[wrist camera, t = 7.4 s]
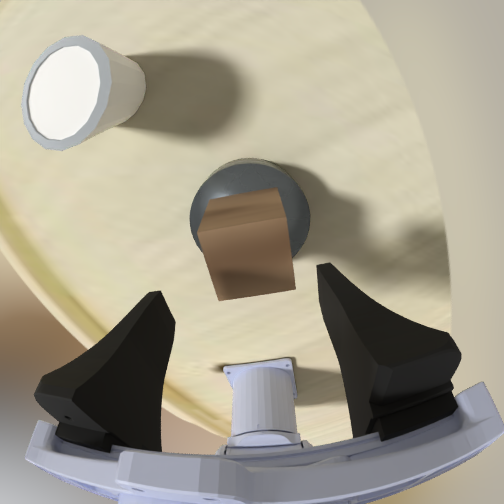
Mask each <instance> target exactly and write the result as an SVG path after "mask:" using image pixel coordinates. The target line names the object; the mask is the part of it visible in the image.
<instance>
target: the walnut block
mask: <svg viewBox="0 0 504 504" xmlns="http://www.w3.org/2000/svg"><path fill="white" fill-rule="evenodd" d="M197 235H198V238H199V241H200V244H201V248H202V251H203V254H204V257H205V261H206V264H207V267H208V270H209V273H210V276H211V279H212V282H213V285H214V288H215V291H216V294H217V297H218V300H219V301H223V300H230V299H237V298H244V297H251V296H258V295H264V294H271V293H277V292H283V291H289V290H295V289H296V286H295V278H294V270H293V262H292V255H291V247H290V240H289V233H288V226H287V219H286V214H285V211H284V208H283V205H282V201H281V198H280V195H279V192H278V188H277V187H275V188H269V189H263V190H257V191H251V192H246V193H240V194H235V195H230V196H225V197H220V198H215V199H210V200H209V202H208V205H207V207H206V210H205V213H204V215H203V218H202V220H201V223H200V226H199V228H198V231H197Z"/></svg>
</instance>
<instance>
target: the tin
mask: <svg viewBox="0 0 504 504" xmlns="http://www.w3.org/2000/svg"><path fill="white" fill-rule="evenodd" d="M275 187H277V188H278V192H279V195H280V198H281V201H282V205H283V208H284V211H285V214H286V219H287V226H288V233H289V240H290V247H291V255H292V258H293V257H294V256H295V255H296V254H297V252H298V251H299V250H300V249H301V247H302V245H303V244H304V242H305V240H306V237H307V235H308V231H309V226H310V211H309V206H308V203H307V200H306V198H305V196H304V193H303V192H302V190H301V189H300V187H299V186H298V184H297V183H296V182H295V181H294V180H293V179H292V178H291V177H290V175H289V174H288V173H287V172H286V171H284V170H283V169H282V168H281V167H279V166H277V165H276V164H274V163H271V162H269V161H266V160H262V159H257V158H244V159H238V160H234V161H231V162H228V163H226V164H224V165H222V166H221V167H219V168H218V169H217V170H215V171H214V172H213V173H212V174H211V175H210V176H209V178H208V179H207V180H206V181H205V182H204V183H203V185H202V186H201V187H200V188H199V190H198V192H197V194H196V195H195V197H194V200H193V203H192V206H191V210H190V227H191V232H192V235H193V238H194V240H195V242H196V244H197V246H198V247H199V249H200V250H201V252H202V253H203V251H202V248H201V244H200V241H199V238H198V235H197V231H198V228H199V226H200V223H201V220H202V218H203V215H204V213H205V210H206V207H207V205H208V202H209V200H210V199H215V198H220V197H225V196H230V195H235V194H240V193H246V192H251V191H257V190H263V189H269V188H275Z"/></svg>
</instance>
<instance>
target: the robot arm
mask: <svg viewBox="0 0 504 504" xmlns="http://www.w3.org/2000/svg"><path fill="white" fill-rule="evenodd" d="M316 267H317V279H318V293H319V303H320V307H321V311H322V315H323V319H324V322H325V325H326V328H327V330H328V333H329V336H330V339H331V341H332V344H333V347H334V350H335V352H336V355H337V358H338V361H339V365H340V369H341V373H342V378H343V382H344V387H345V392H346V397H347V402H348V408H349V414H350V420H351V426H352V434H353V439H349V440H344V441H340V442H335V443H330V444H325V445H320V446H314V447H313V446H312V444H310V443H309V442H308V441H307V440H303V441H301V439H300V433H297V424H296V415H295V407H294V399H296V398H297V390H296V384H295V378H294V372H293V367H292V361H291V359H290V358H285V359H278V360H271V361H264V362H257V363H249V364H240V365H231V366H225V367H224V369H223V370H224V373H225V375H226V377H227V379H228V381H229V383H230V385H231V387H232V389H233V402H232V429H231V437H228V442H227V444H228V445H221V447H220V448H219V449H218V450H217V451H216V453H215V455H199V454H179V453H166V452H162V447H161V404H162V392H163V384H164V379H165V374H166V370H167V366H168V362H169V358H170V354H171V350H172V345H173V341H174V334H175V323H176V322H175V320H174V318H173V316H172V314H171V312H170V309H169V307H168V305H167V303H166V301H165V299H164V297H163V295H162V293H161V291H154V292H149V293H148V294H147V295H146V296H145V297H143V298H142V299H141V300H140V302H139V303H138V304H137V305H136V306H135V307H134V308H133V309H132V310H131V311H130V312H129V313H128V314H127V315H126V316H125V317H124V318H123V319H122V320H121V321H120V322H119V323H118V324H117V325H116V326H115V327H114V328H113V329H112V330H111V331H110V332H109V333H108V334H107V335H106V336H105V337H104V338H103V339H101V340H100V341H99V342H98V343H97V344H95V345H94V346H93V347H92V348H90V349H89V350H87V351H86V352H85V353H83V354H82V355H80V356H79V357H78V358H76V359H74V360H73V361H71V362H70V363H68V364H66V365H64V366H63V367H61V368H59V369H57V370H54V371H52V372H51V373H48V374H46V375H44V376H43V377H42V379H41V381H40V383H39V385H38V387H37V389H36V391H35V393H34V396H35V399H36V401H37V402H38V403H39V405H40V406H41V407H42V408H44V409H45V410H46V411H47V412H48V413H49V414H51V415H52V416H53V417H54V418H55V419H56V420H57V421H59V424H58V427H57V426H55V425H54V424H51V423H48V422H45V421H42V420H38V422H37V424H36V427H35V430H34V432H33V435H32V438H31V441H30V444H29V446H28V449H27V452H26V455H25V459H26V460H27V461H29V462H31V463H32V464H34V465H35V466H37V467H38V468H40V469H42V470H44V471H45V472H47V473H49V474H51V475H52V476H54V477H56V478H58V479H60V480H62V481H64V482H67V483H69V484H72V485H74V486H76V487H79V488H81V489H84V490H86V491H89V492H92V493H94V494H97V495H100V496H103V497H106V498H109V499H112V500H115V501H118V504H366V503H369V502H373V501H376V500H379V499H382V498H385V497H388V496H391V495H393V494H396V493H399V492H402V491H404V490H407V489H409V488H412V487H414V486H417V485H419V484H421V483H424V482H426V481H428V480H430V479H432V478H435V477H436V476H439V475H441V474H443V473H445V472H447V471H449V470H451V469H453V468H455V467H457V466H458V465H460V464H462V463H464V462H466V461H467V460H469V459H471V458H473V457H474V456H476V455H477V454H479V453H480V452H482V451H483V450H484V449H485V448H487V447H488V446H489V445H490V444H492V443H493V442H494V441H495V440H497V439H498V438H499V437H500V436H501V435H503V434H504V424H503V421H502V419H501V417H500V415H499V412H498V410H497V408H496V406H495V404H494V402H493V400H492V398H491V396H490V393H489V392H488V390H487V388H486V386H485V384H484V382H480V383H478V384H476V385H474V386H472V387H470V388H468V389H466V390H464V391H462V392H460V393H459V394H458V395H457V396H455V397H454V396H453V394H452V390H453V389H454V387H453V384H452V382H451V378H452V376H453V375H454V373H455V371H456V369H457V367H458V366H459V363H460V361H461V352H460V351H459V349H458V347H457V345H456V343H455V342H454V340H453V339H452V337H451V336H450V335H449V333H447V332H444V331H440V330H437V329H433V328H430V327H427V326H424V325H421V324H419V323H416V322H414V321H411V320H409V319H407V318H405V317H403V316H401V315H399V314H396V313H394V312H393V311H391V310H389V309H387V308H386V307H384V306H382V305H381V304H379V303H377V302H376V301H374V300H373V299H372V298H370V297H369V296H368V295H366V294H365V293H364V292H362V291H361V290H360V289H359V288H358V287H356V286H355V285H354V284H353V283H352V282H350V281H349V280H348V279H347V278H346V277H345V276H344V275H343V274H342V273H341V272H340V271H339V270H338V269H337V268H335V267H334V266H333V265H332V264H331V263H325V264H319V265H316Z"/></svg>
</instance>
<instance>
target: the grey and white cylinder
mask: <svg viewBox="0 0 504 504" xmlns="http://www.w3.org/2000/svg"><path fill="white" fill-rule="evenodd" d="M145 91H146V81H145V74H144V72H143V71H142V69H141V68H140V66H139V65H138V63H136V62H134V61H133V60H131V59H129V58H127V57H125V56H123V55H122V54H120V53H118V52H116V51H114V50H112V49H110V48H108V47H106V46H104V45H102V44H100V43H98V42H96V41H94V40H92V39H90V38H88V37H86V36H83V35H81V36H71V37H64V38H63V39H61V40H59V41H57V42H56V43H54V44H52V45H51V46H49V47H47V49H46V50H45V51H44V52H43V53H42V54H41V55H40V56H39V58H38V59H37V60H36V61H35V62H34V64H33V66H32V68H31V70H30V72H29V74H28V77H27V79H26V81H25V83H24V89H23V96H22V103H21V106H22V113H23V120H24V124H25V126H26V128H27V130H28V132H29V134H30V135H31V137H32V139H33V140H34V141H36V142H37V143H38V144H40V145H41V146H42V147H44V148H45V149H50V150H58V151H63V150H65V149H68V148H70V147H73V146H76V145H78V144H80V143H82V142H84V141H86V140H88V139H90V138H92V137H94V136H96V135H98V134H100V133H102V132H104V131H106V130H108V129H110V128H112V127H114V126H116V125H119V124H121V123H123V122H125V121H126V120H127V119H129V118H130V117H131V116H132V115H134V114H135V113H136V111H137V110H138V108H139V107H140V105H141V103H142V102H143V99H144V95H145Z"/></svg>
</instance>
